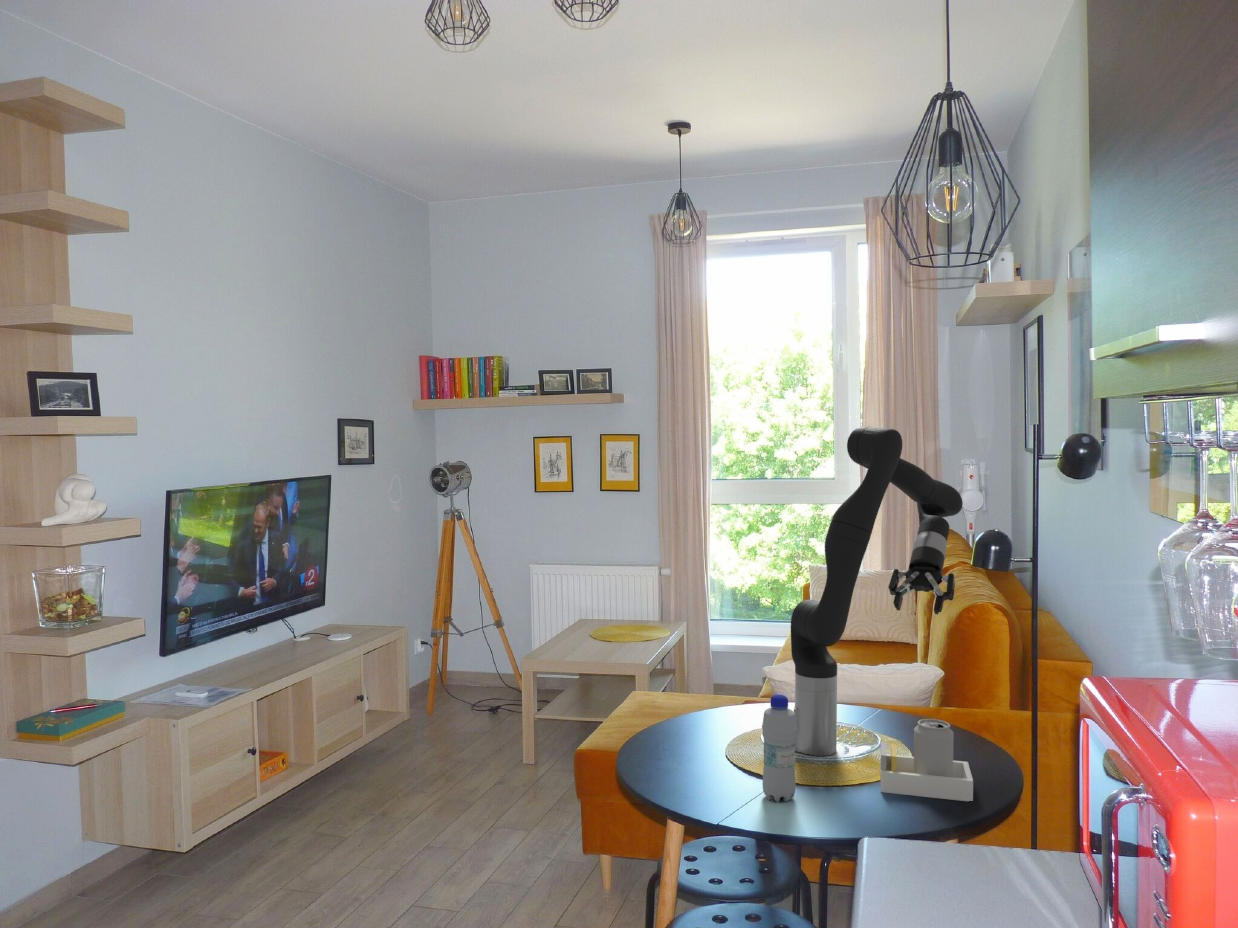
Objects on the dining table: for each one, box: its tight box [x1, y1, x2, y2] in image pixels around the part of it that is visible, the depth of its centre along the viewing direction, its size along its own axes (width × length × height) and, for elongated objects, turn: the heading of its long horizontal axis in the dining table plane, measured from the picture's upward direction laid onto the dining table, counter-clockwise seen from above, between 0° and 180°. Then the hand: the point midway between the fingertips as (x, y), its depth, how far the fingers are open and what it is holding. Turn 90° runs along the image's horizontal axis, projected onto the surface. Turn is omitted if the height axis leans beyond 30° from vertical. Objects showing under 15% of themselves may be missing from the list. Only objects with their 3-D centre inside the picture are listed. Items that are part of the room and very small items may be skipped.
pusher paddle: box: [890, 743, 898, 772], centre depth 182 cm, size 1×8×6 cm, turn 164°
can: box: [913, 718, 955, 777], centre depth 180 cm, size 8×8×12 cm
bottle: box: [761, 694, 797, 803], centre depth 175 cm, size 7×7×20 cm
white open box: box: [880, 740, 974, 802], centre depth 181 cm, size 17×11×7 cm, turn 74°
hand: (916, 610), depth 206 cm, fingers open, 8 cm apart
